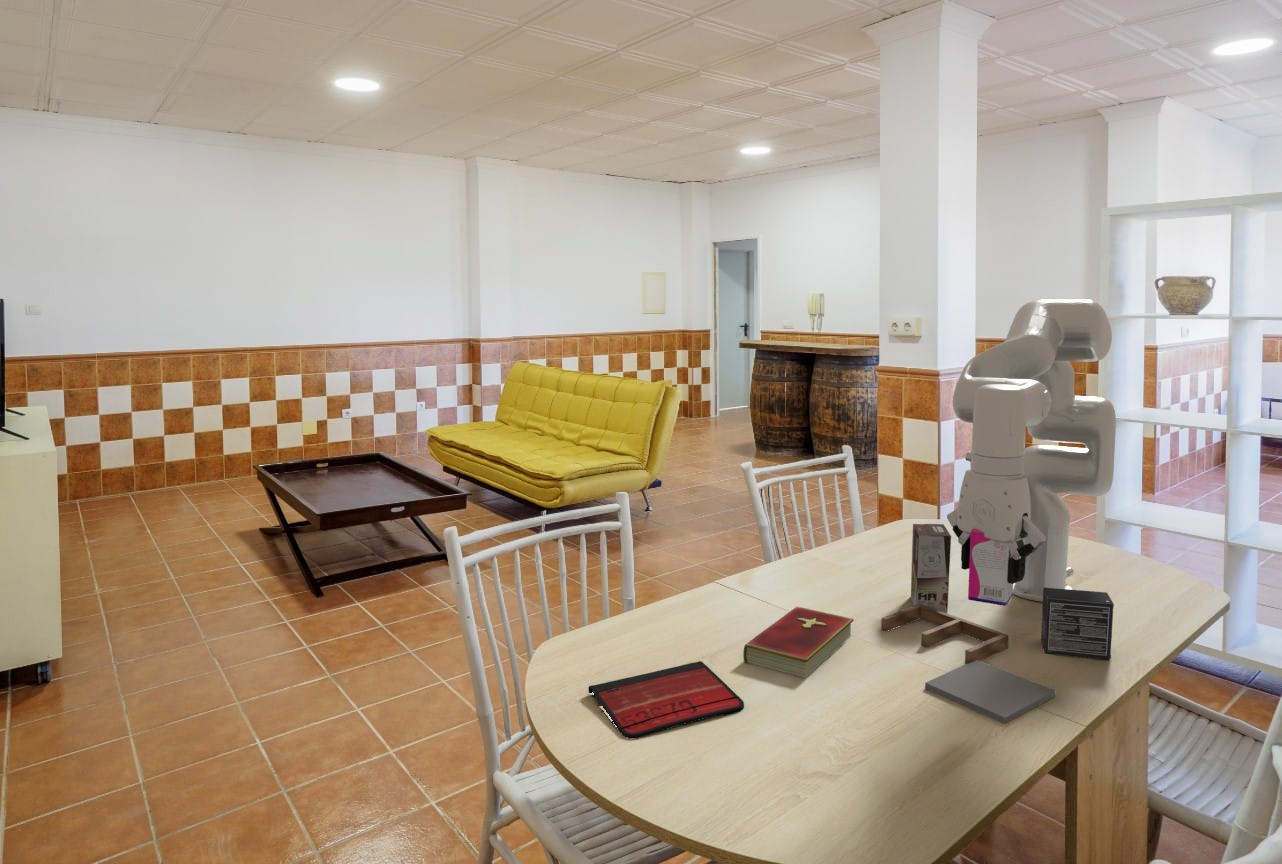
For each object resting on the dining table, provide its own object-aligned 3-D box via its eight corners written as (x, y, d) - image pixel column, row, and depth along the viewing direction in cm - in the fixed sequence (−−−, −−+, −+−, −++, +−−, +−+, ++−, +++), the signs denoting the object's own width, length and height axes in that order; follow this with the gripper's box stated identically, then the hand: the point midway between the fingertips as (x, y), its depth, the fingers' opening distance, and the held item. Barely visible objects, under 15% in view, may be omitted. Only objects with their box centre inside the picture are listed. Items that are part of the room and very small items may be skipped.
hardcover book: (743, 664, 146) (743, 642, 145) (794, 624, 163) (795, 604, 162) (806, 682, 139) (806, 658, 138) (853, 638, 156) (853, 617, 155)
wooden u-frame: (919, 615, 164) (919, 603, 164) (1008, 648, 149) (1008, 635, 149) (881, 630, 158) (881, 617, 158) (969, 665, 143) (970, 651, 142)
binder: (587, 684, 135) (701, 658, 144) (588, 697, 136) (700, 671, 144) (627, 734, 121) (750, 702, 129) (627, 748, 121) (749, 716, 130)
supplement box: (1013, 594, 132) (1017, 525, 130) (1006, 607, 127) (1010, 535, 125) (974, 588, 135) (978, 520, 133) (966, 600, 130) (970, 529, 128)
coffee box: (948, 614, 165) (952, 536, 162) (915, 612, 166) (917, 535, 164) (941, 597, 174) (944, 523, 171) (909, 595, 175) (912, 522, 172)
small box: (1104, 646, 149) (1108, 590, 147) (1111, 661, 143) (1115, 604, 141) (1039, 639, 152) (1042, 585, 151) (1043, 654, 146) (1047, 597, 145)
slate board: (975, 665, 143) (976, 659, 143) (1055, 696, 131) (1055, 690, 131) (925, 688, 135) (925, 682, 135) (1004, 723, 123) (1005, 717, 123)
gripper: (933, 459, 133) (929, 564, 136) (1036, 478, 118) (1029, 596, 121) (962, 453, 137) (958, 555, 140) (1065, 471, 122) (1058, 585, 125)
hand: (991, 573), depth 130 cm, fingers closed on supplement box, 7 cm apart
